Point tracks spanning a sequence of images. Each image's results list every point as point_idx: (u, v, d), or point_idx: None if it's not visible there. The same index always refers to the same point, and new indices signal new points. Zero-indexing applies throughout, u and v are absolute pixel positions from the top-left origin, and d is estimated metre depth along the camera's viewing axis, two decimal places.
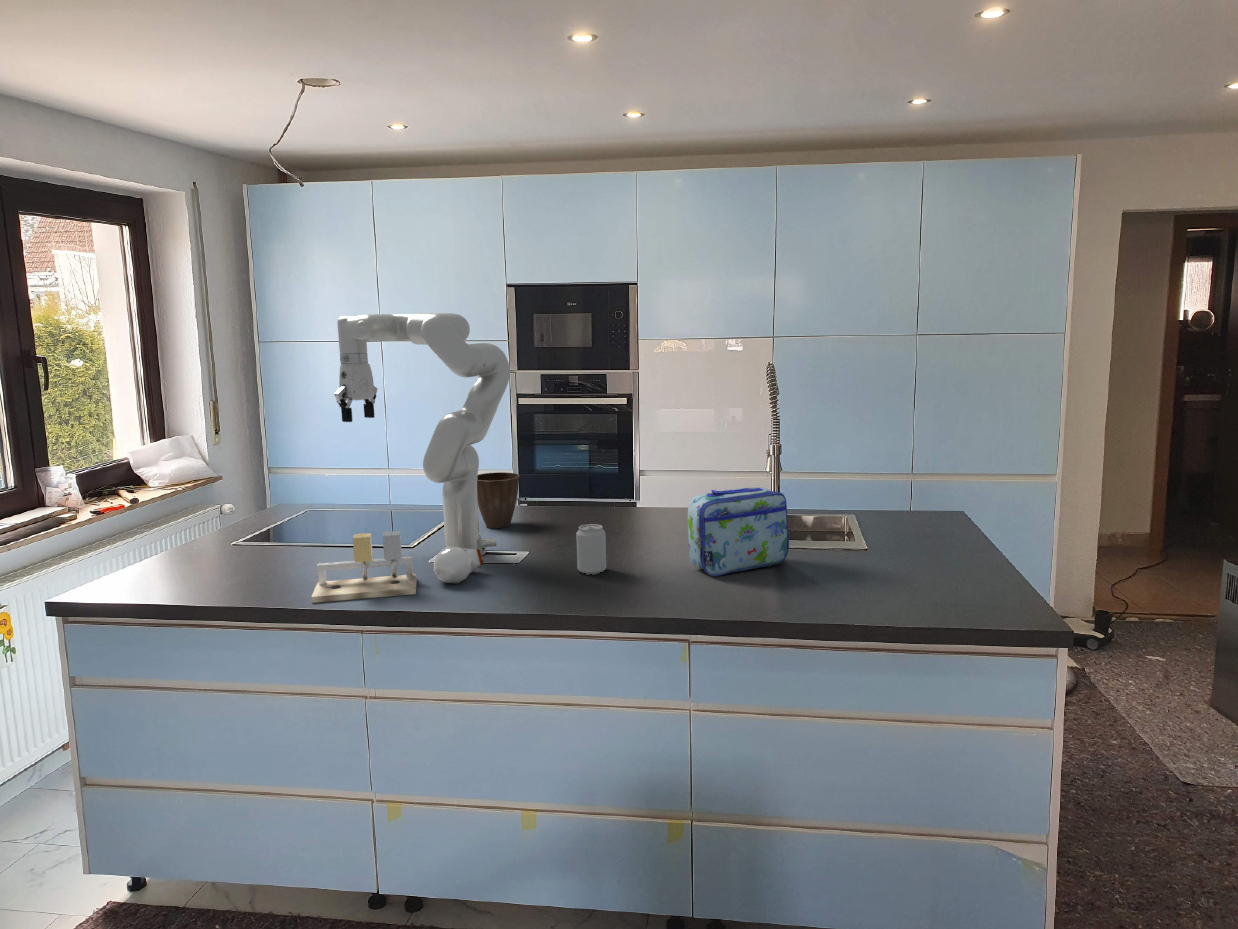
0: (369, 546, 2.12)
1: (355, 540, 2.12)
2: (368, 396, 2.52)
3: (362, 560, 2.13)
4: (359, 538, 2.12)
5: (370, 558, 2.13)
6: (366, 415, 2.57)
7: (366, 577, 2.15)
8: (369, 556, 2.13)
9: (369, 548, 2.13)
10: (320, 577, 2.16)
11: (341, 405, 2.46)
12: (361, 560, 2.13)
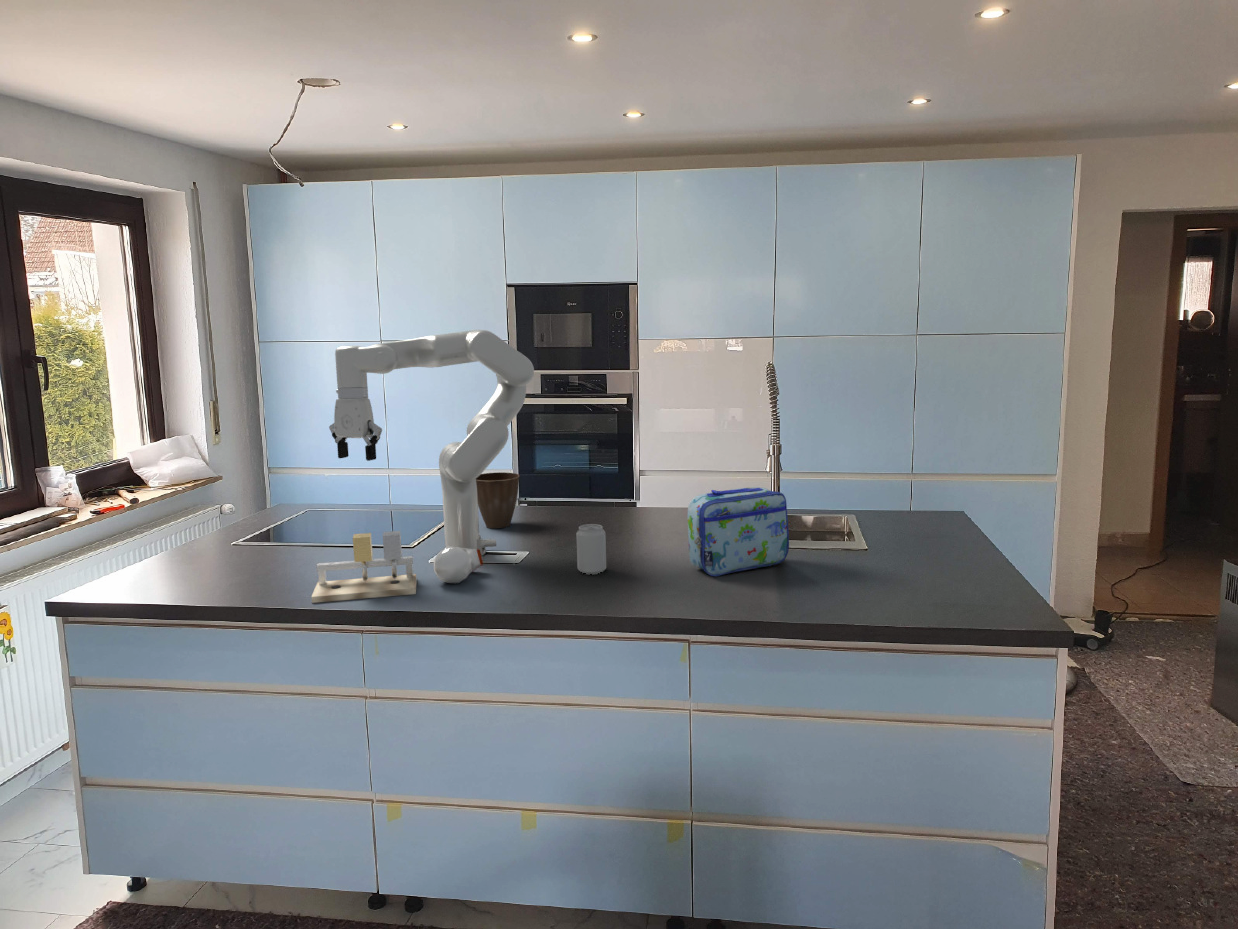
0: (369, 546, 2.12)
1: (355, 540, 2.12)
2: (352, 435, 2.27)
3: (362, 560, 2.13)
4: (359, 538, 2.12)
5: (370, 558, 2.13)
6: None
7: (366, 577, 2.15)
8: (369, 556, 2.13)
9: (369, 548, 2.13)
10: (320, 577, 2.16)
11: None
12: (361, 560, 2.13)
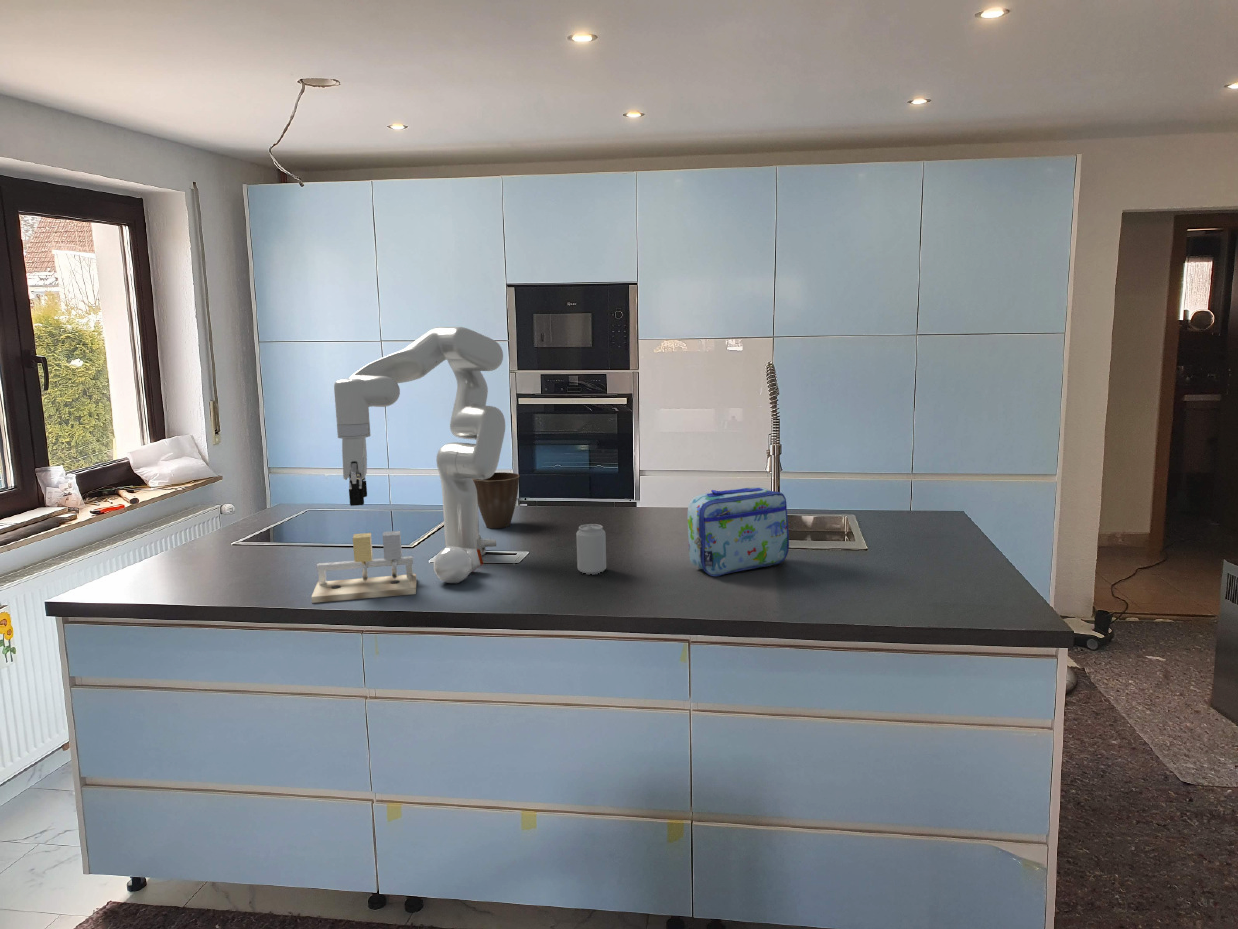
0: (369, 546, 2.12)
1: (355, 540, 2.12)
2: None
3: (362, 560, 2.13)
4: (359, 538, 2.12)
5: (370, 558, 2.13)
6: None
7: (366, 577, 2.15)
8: (369, 556, 2.13)
9: (369, 548, 2.13)
10: (320, 577, 2.16)
11: None
12: (361, 560, 2.13)
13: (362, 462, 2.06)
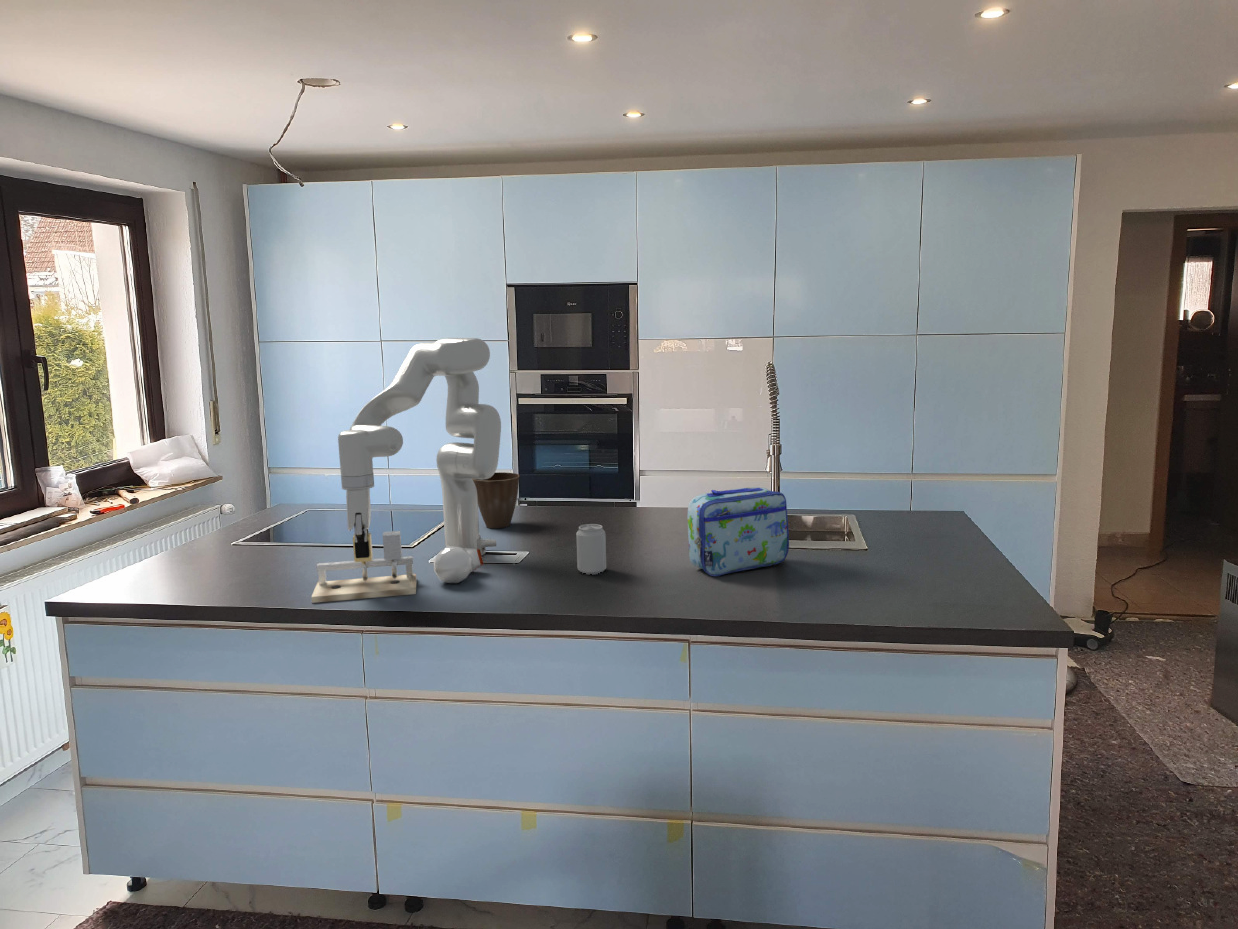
0: (369, 546, 2.12)
1: None
2: None
3: (362, 560, 2.13)
4: None
5: (370, 558, 2.13)
6: None
7: (366, 577, 2.15)
8: (369, 556, 2.13)
9: (369, 548, 2.13)
10: (320, 577, 2.16)
11: None
12: (361, 560, 2.13)
13: (366, 513, 2.08)
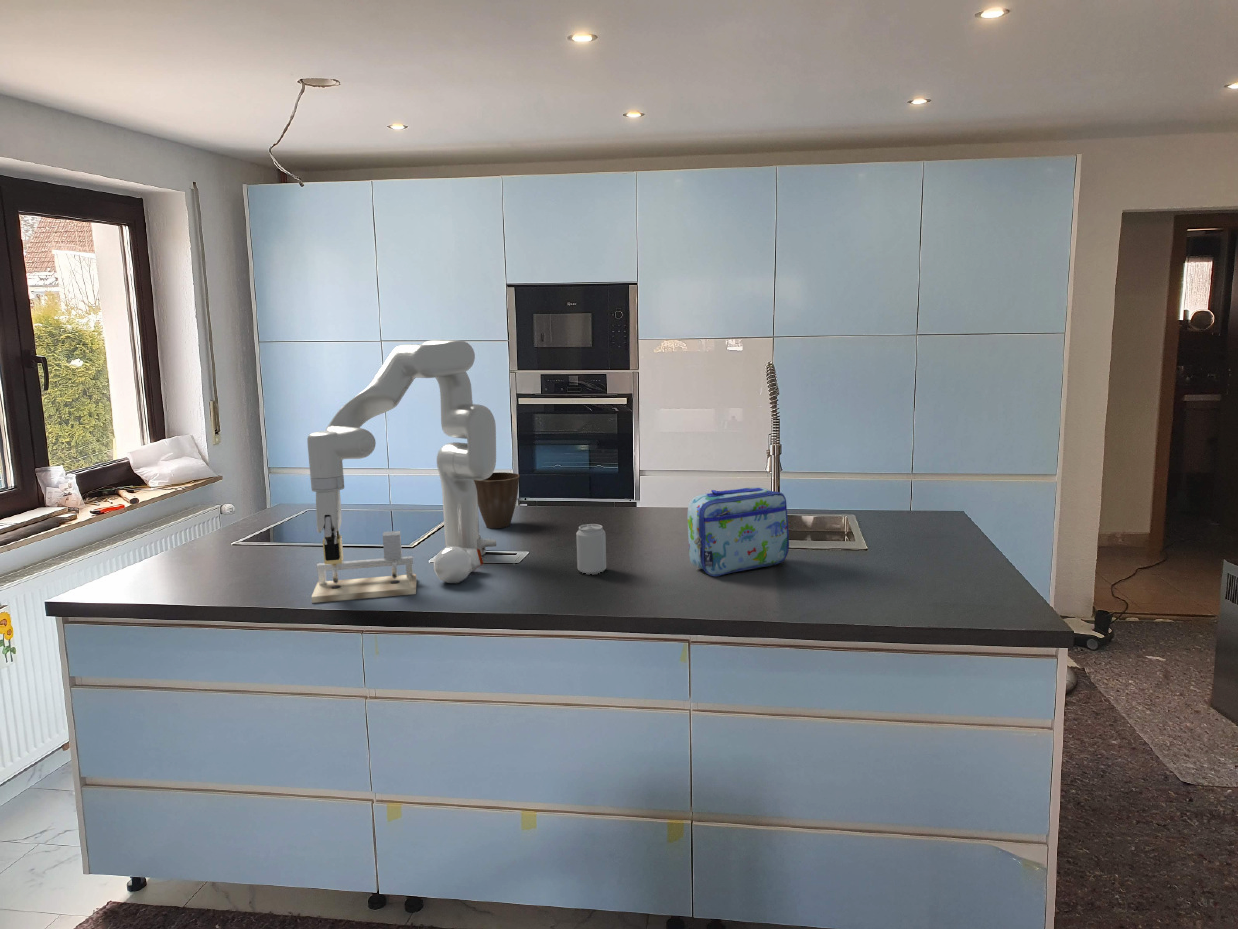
0: (339, 548, 2.11)
1: None
2: None
3: (332, 562, 2.11)
4: None
5: (340, 560, 2.12)
6: None
7: (336, 579, 2.14)
8: (339, 558, 2.11)
9: (339, 550, 2.11)
10: (320, 577, 2.16)
11: None
12: (331, 562, 2.11)
13: (336, 515, 2.07)
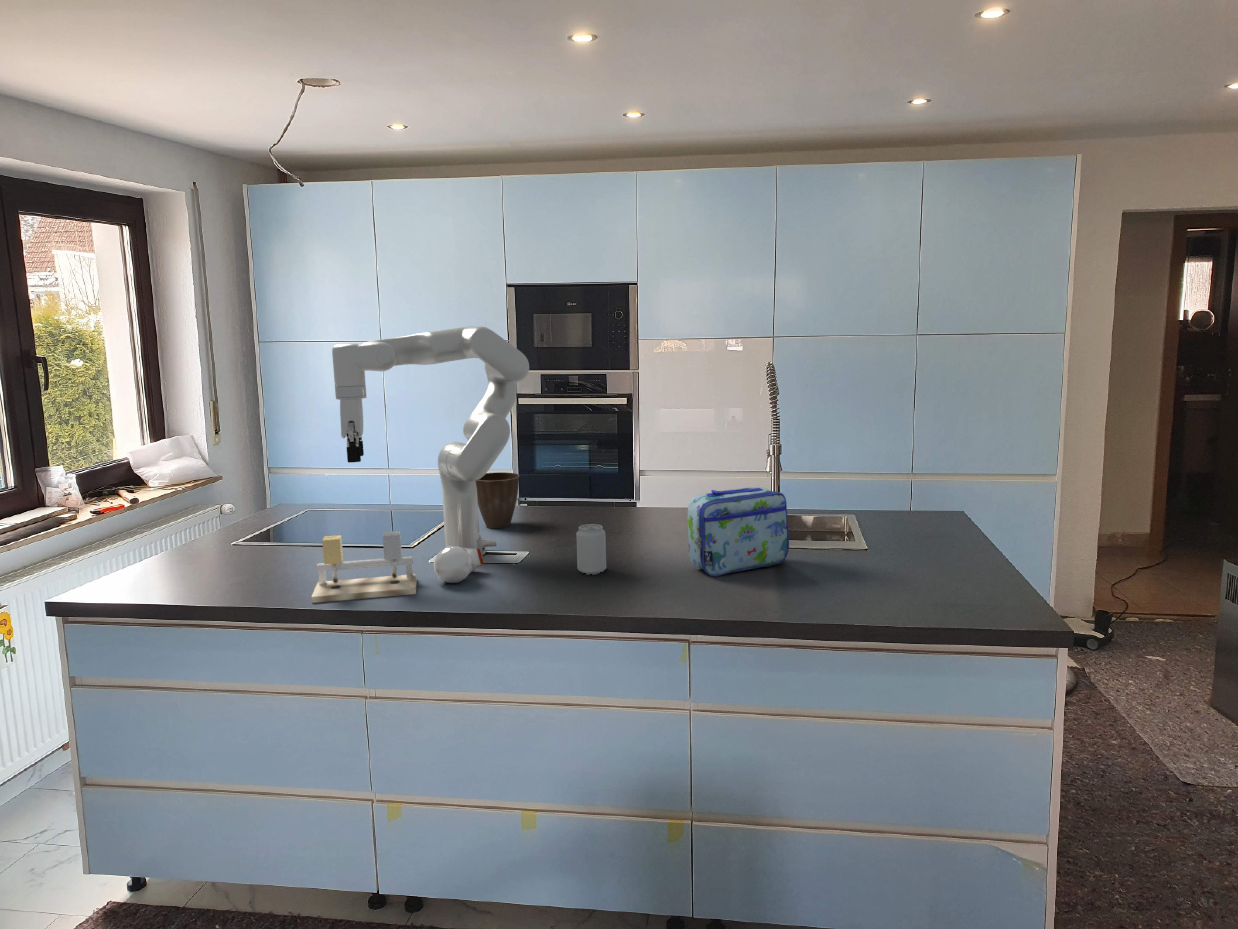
0: (339, 548, 2.11)
1: (324, 542, 2.10)
2: None
3: (332, 562, 2.11)
4: (329, 540, 2.10)
5: (340, 560, 2.12)
6: None
7: (336, 579, 2.14)
8: (339, 558, 2.11)
9: (339, 550, 2.11)
10: (320, 577, 2.16)
11: None
12: (331, 562, 2.11)
13: (359, 421, 2.21)
